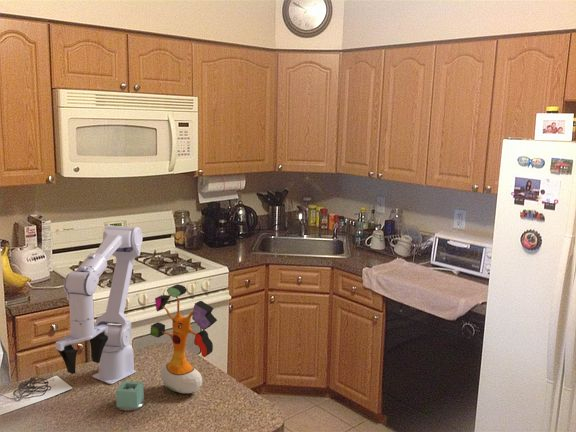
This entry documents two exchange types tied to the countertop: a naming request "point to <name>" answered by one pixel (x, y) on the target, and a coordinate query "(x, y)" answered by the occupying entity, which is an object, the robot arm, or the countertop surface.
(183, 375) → the decorative sculpture
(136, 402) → the collar
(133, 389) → the post
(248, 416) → the countertop surface
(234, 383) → the countertop surface
